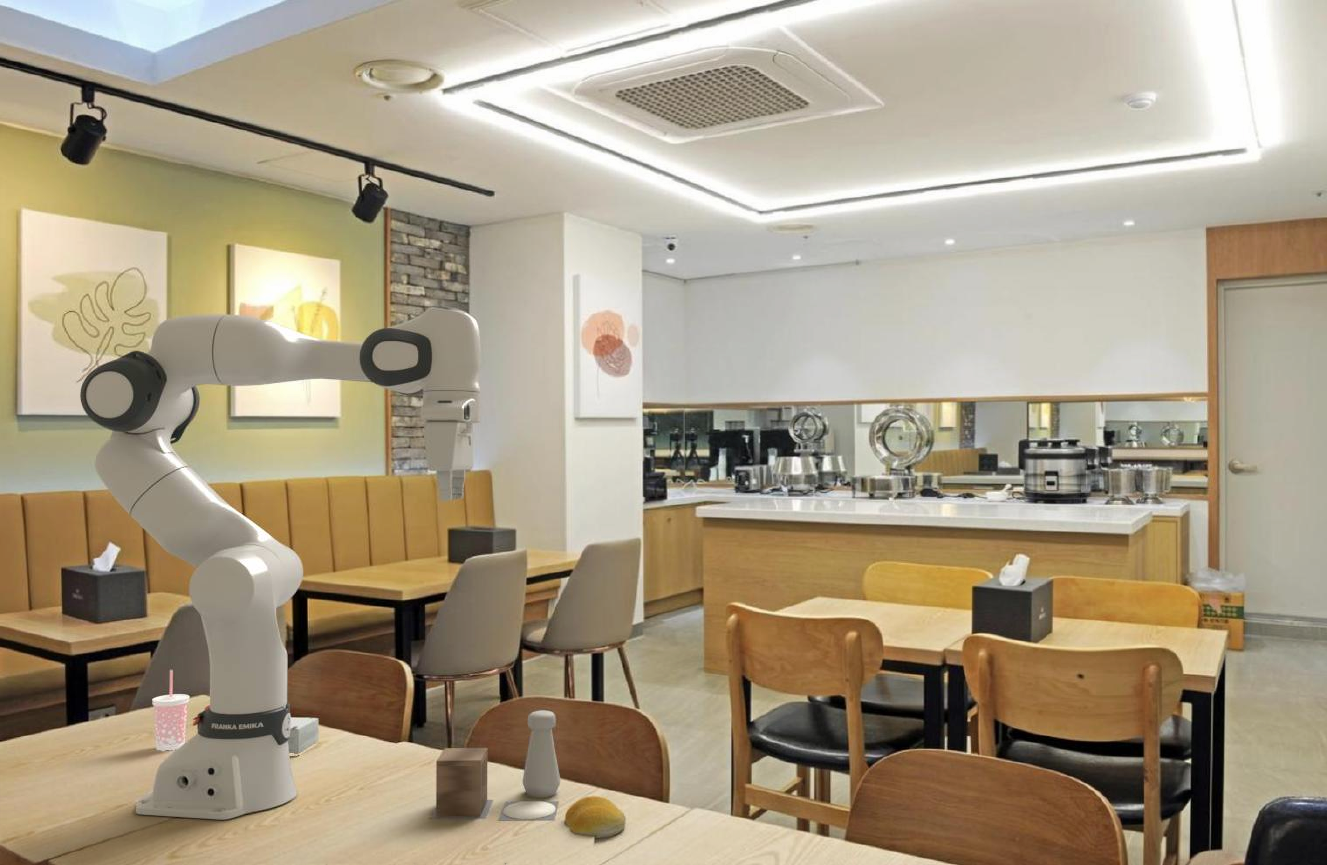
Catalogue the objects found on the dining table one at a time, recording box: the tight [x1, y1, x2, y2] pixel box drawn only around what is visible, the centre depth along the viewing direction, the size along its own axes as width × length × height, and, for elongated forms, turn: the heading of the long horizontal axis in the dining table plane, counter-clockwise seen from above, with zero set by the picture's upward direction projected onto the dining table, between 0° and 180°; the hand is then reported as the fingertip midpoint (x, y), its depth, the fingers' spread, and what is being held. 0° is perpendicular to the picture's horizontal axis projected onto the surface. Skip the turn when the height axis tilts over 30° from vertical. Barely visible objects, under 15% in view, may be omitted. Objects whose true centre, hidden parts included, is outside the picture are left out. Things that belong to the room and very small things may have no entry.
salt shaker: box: [522, 710, 561, 799], centre depth 157 cm, size 6×6×13 cm
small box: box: [288, 716, 320, 754], centre depth 183 cm, size 8×8×5 cm
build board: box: [498, 800, 560, 822], centre depth 149 cm, size 8×8×1 cm
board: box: [429, 799, 494, 820], centre depth 150 cm, size 8×8×6 cm
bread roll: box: [564, 795, 626, 839], centre depth 144 cm, size 8×9×4 cm
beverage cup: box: [151, 669, 191, 752], centre depth 185 cm, size 6×6×14 cm
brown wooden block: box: [435, 747, 488, 817], centre depth 150 cm, size 6×6×8 cm
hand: (451, 500), depth 158 cm, fingers open, 8 cm apart
